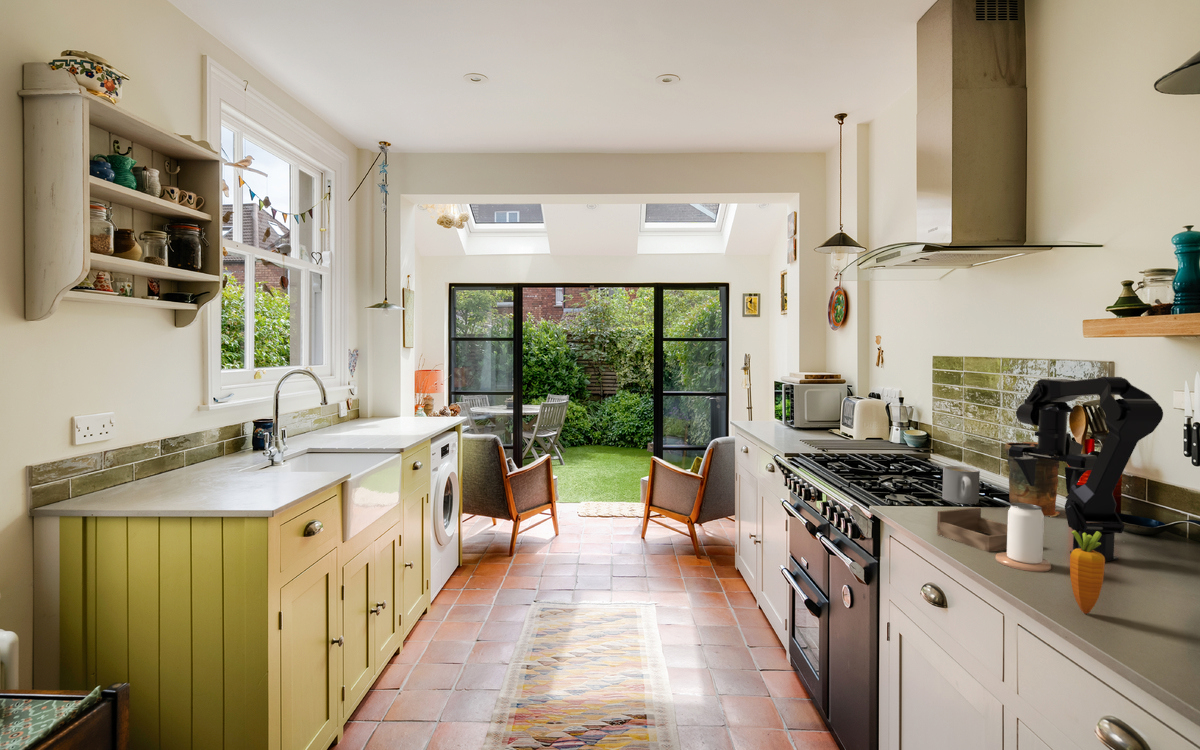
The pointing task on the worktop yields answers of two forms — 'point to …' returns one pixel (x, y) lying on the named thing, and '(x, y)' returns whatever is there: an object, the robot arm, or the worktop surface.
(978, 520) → the open wooden tray
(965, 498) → the coffee mug
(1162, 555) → the worktop surface
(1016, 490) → the vessel
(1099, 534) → the carrot
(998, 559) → the saucer
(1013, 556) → the can
